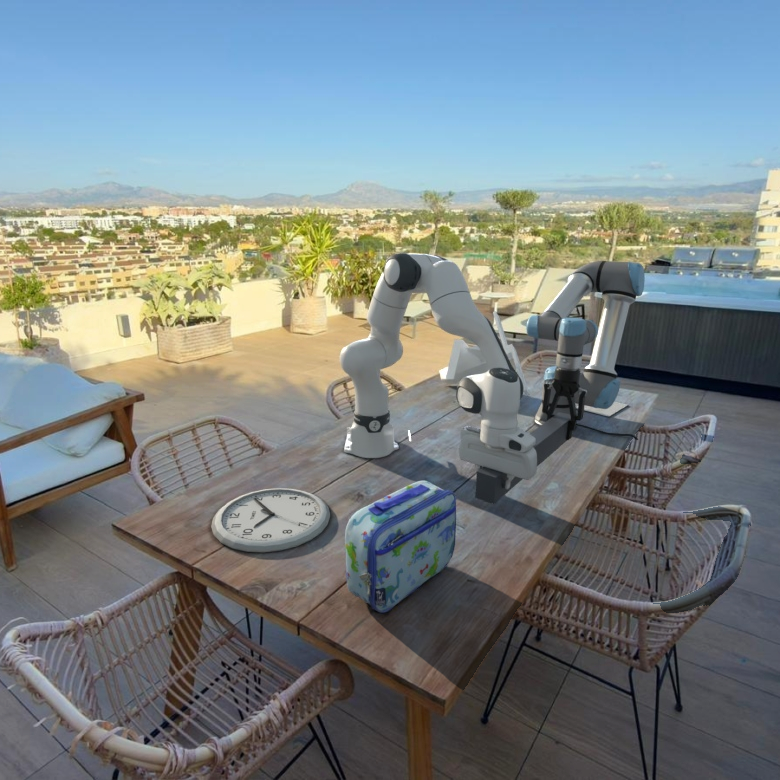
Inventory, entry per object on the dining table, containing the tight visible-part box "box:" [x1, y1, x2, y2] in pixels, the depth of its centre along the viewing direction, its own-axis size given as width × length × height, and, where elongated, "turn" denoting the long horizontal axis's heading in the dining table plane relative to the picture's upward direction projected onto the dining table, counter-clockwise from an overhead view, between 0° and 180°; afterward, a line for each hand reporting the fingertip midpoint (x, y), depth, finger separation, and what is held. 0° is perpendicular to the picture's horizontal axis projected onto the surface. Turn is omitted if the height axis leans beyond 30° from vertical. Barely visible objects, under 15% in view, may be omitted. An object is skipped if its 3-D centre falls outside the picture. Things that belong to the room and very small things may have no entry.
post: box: [474, 412, 574, 505], centre depth 152 cm, size 58×5×7 cm, turn 143°
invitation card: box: [575, 401, 629, 418], centre depth 226 cm, size 21×1×15 cm
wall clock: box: [210, 487, 331, 553], centre depth 136 cm, size 30×2×30 cm
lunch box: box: [344, 480, 457, 614], centre depth 109 cm, size 26×11×21 cm, turn 135°
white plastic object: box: [438, 310, 531, 397], centre depth 245 cm, size 37×45×31 cm
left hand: (494, 484), depth 134 cm, fingers closed on post, 5 cm apart
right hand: (559, 436), depth 171 cm, fingers closed on post, 5 cm apart
